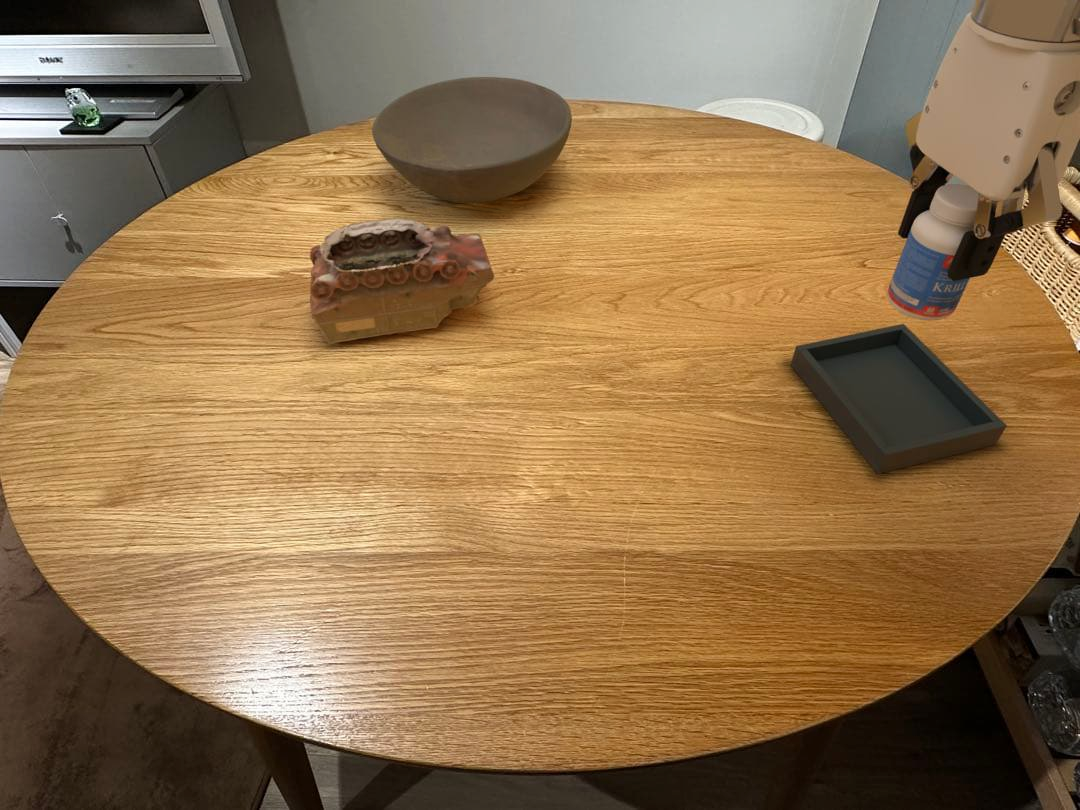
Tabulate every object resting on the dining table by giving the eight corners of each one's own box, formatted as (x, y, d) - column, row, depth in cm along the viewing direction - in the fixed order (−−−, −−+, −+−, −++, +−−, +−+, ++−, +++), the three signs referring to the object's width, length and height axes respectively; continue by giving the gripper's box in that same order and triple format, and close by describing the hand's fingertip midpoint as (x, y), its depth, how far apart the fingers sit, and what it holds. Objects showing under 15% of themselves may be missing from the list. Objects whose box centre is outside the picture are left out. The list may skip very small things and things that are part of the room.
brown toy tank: (323, 281, 92) (305, 209, 85) (491, 270, 93) (486, 197, 86) (312, 353, 82) (291, 277, 76) (498, 338, 84) (494, 263, 77)
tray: (995, 444, 72) (1007, 425, 70) (877, 474, 69) (885, 455, 67) (896, 342, 82) (903, 323, 81) (790, 364, 80) (795, 345, 78)
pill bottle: (923, 331, 61) (970, 223, 54) (871, 296, 65) (908, 190, 58) (969, 309, 63) (1019, 202, 56) (916, 277, 67) (957, 172, 60)
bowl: (593, 218, 101) (596, 146, 94) (391, 246, 97) (379, 172, 90) (546, 133, 120) (545, 67, 113) (375, 153, 115) (363, 86, 108)
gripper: (1209, 46, 43) (1060, 308, 55) (996, -36, 55) (913, 195, 67) (1099, 62, 41) (972, 328, 54) (905, -26, 53) (838, 209, 66)
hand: (940, 252), depth 61 cm, fingers closed on pill bottle, 5 cm apart
